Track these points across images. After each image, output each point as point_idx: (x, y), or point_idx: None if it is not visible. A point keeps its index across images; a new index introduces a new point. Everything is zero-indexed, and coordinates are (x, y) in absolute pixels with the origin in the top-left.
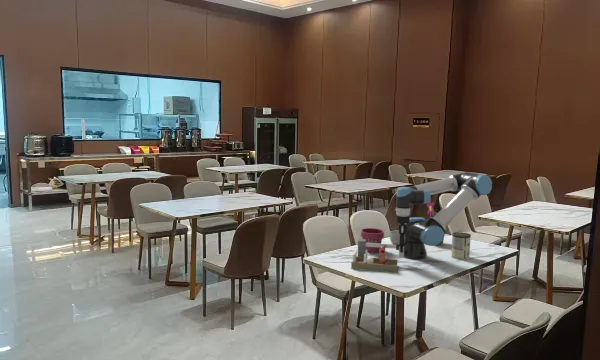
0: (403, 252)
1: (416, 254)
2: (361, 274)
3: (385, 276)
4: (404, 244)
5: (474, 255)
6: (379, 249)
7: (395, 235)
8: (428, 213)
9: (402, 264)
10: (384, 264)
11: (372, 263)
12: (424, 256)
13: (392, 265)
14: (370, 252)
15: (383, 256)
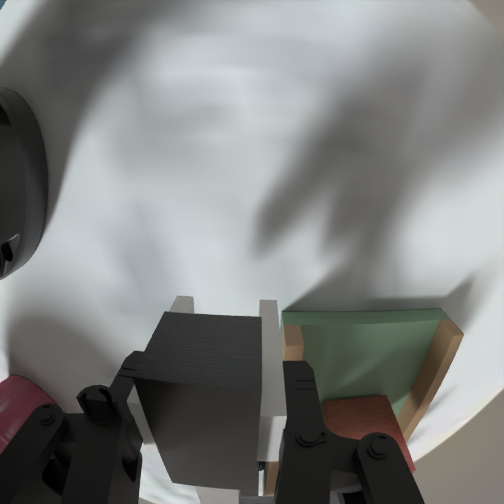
0: (280, 347)
1: (17, 154)
2: (437, 432)
3: (483, 352)
4: (193, 422)
5: None
6: (18, 382)
7: None
8: None
9: (228, 268)
10: (421, 404)
11: None
12: (8, 93)
13: (449, 362)
14: None
15: (403, 452)
